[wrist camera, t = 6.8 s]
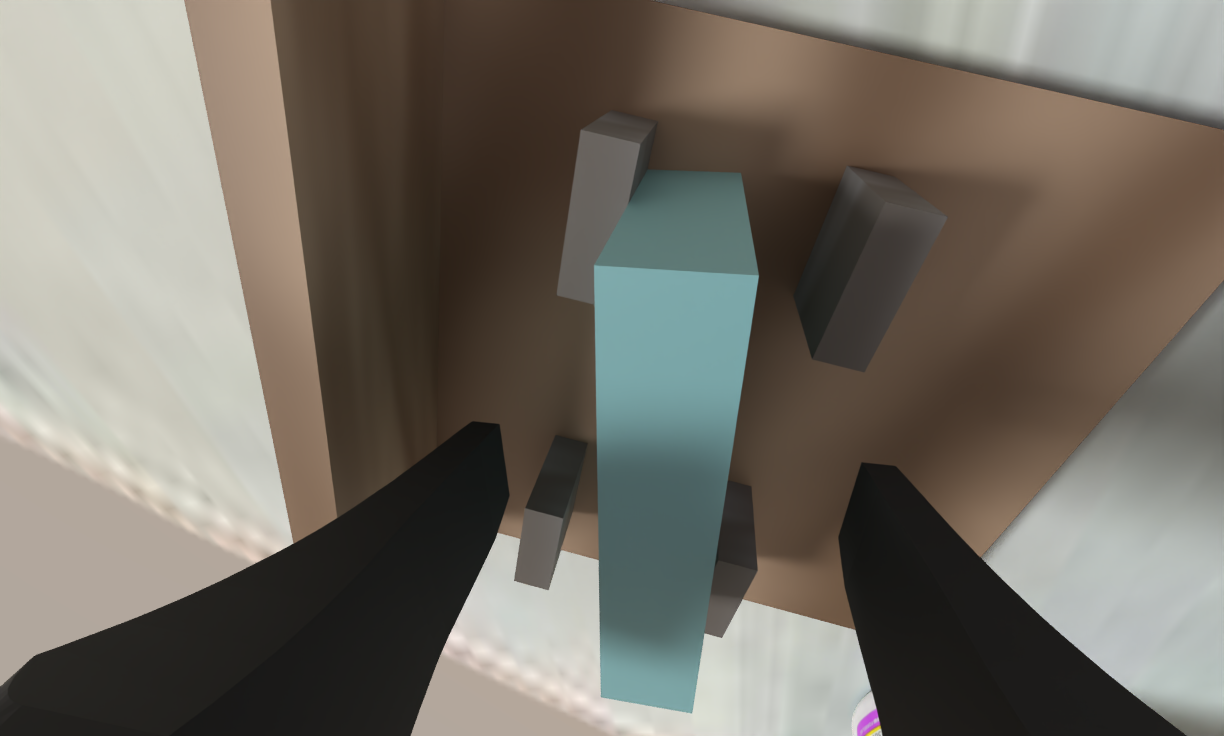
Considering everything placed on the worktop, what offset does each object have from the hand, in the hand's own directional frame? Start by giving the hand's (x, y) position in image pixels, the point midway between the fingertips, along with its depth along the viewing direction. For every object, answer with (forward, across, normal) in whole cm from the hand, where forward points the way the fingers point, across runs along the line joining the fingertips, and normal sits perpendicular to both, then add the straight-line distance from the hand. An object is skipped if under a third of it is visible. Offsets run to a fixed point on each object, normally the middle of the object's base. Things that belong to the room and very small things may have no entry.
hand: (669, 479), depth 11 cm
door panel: (+4, 0, 0) cm, 4 cm away
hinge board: (+5, -1, 0) cm, 5 cm away
